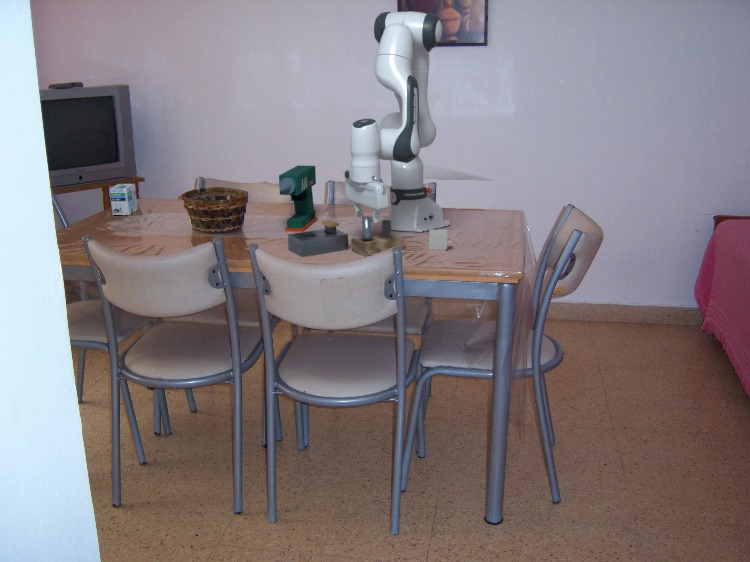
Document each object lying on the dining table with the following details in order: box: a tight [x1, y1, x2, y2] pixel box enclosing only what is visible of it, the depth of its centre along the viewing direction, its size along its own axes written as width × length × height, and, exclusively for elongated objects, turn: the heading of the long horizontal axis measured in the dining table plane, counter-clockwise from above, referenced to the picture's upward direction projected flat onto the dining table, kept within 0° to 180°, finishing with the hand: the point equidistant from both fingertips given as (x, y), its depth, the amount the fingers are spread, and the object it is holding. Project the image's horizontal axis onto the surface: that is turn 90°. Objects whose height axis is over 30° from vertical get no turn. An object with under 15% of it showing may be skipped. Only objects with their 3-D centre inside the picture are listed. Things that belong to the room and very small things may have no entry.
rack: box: [350, 219, 404, 257], centre depth 244 cm, size 14×8×9 cm, turn 121°
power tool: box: [278, 165, 319, 233], centre depth 270 cm, size 32×7×20 cm, turn 168°
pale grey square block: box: [427, 228, 452, 250], centre depth 244 cm, size 3×7×7 cm, turn 93°
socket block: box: [287, 228, 349, 258], centre depth 246 cm, size 16×10×5 cm, turn 121°
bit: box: [361, 216, 373, 242], centre depth 242 cm, size 3×3×11 cm
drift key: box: [321, 219, 340, 235], centre depth 248 cm, size 3×5×8 cm, turn 31°
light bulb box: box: [109, 183, 138, 216], centre depth 300 cm, size 11×7×11 cm, turn 179°
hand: (367, 219), depth 241 cm, fingers open, 8 cm apart
